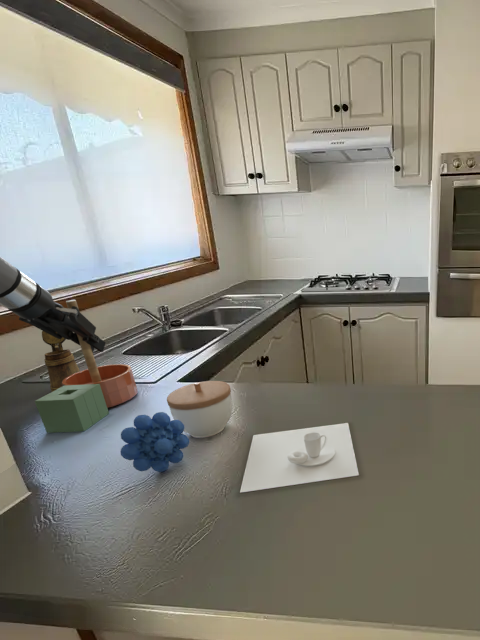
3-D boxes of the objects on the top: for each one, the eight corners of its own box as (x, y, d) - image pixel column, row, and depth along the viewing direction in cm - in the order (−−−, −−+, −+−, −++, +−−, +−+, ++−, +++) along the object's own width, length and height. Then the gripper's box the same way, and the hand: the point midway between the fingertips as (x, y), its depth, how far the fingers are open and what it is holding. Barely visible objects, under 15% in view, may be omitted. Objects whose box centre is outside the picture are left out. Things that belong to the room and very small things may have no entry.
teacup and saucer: (288, 471, 75) (284, 451, 74) (289, 448, 82) (286, 430, 81) (337, 464, 76) (334, 444, 75) (334, 442, 83) (332, 424, 82)
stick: (94, 394, 108) (63, 301, 100) (99, 391, 110) (69, 300, 102) (101, 394, 108) (71, 301, 100) (106, 391, 110) (77, 299, 102)
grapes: (143, 495, 71) (123, 432, 67) (125, 482, 75) (105, 422, 71) (205, 462, 80) (191, 405, 75) (186, 452, 84) (172, 397, 79)
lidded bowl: (237, 412, 100) (228, 368, 96) (238, 436, 88) (228, 388, 84) (179, 423, 96) (168, 378, 92) (173, 450, 85) (160, 400, 81)
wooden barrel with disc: (88, 376, 132) (70, 320, 126) (87, 389, 121) (67, 328, 115) (54, 383, 128) (33, 325, 122) (50, 397, 117) (27, 334, 111)
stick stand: (46, 433, 96) (34, 401, 93) (74, 415, 105) (64, 385, 102) (84, 431, 96) (72, 399, 93) (109, 413, 104) (99, 383, 101)
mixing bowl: (57, 414, 106) (46, 387, 103) (97, 390, 120) (89, 365, 117) (115, 412, 105) (107, 384, 102) (149, 387, 119) (142, 362, 116)
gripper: (60, 278, 89) (129, 333, 110) (-7, 282, 90) (74, 336, 111) (49, 308, 86) (122, 359, 107) (-20, 312, 87) (66, 361, 108)
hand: (97, 347), depth 109 cm, fingers closed on stick, 2 cm apart
